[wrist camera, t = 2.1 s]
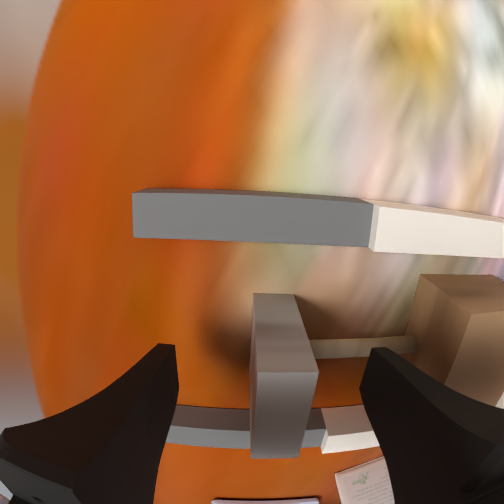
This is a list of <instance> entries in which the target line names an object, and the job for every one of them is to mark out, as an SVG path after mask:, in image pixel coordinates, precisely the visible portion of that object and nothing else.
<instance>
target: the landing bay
mask: <svg viewBox="0 0 504 504" xmlns="http://www.w3.org/2000/svg"><path fill="white" fill-rule="evenodd" d="M373 208H374V204H372V203H369V202H367V201H364V200H362V199H359V198H349V197H337V196H325V195H313V194H299V193H283V192H266V191H245V190H218V189H160V188H146V189H143V190H140V191H137V192H134V193H132V210H133V237H138V238H166V239H193V240H218V241H243V242H266V243H288V244H310V245H330V246H350V247H368V246H369V239H370V232H371V224H372V216H373ZM325 432H326V425H325V421H324V418H323V414H322V410H321V408H317V409H311V410H310V414H309V418H308V422H307V426H306V430H305V434H304V437H303V441H302V445H301V448H306V447H320V446H321V444H322V441H323V438H324V435H325ZM166 442H167V443H175V444H183V445H193V446H204V447H218V448H239V449H251V445H250V410H247V409H222V408H207V407H194V406H184V405H176V409H175V413H174V416H173V419H172V423H171V426H170V429H169V432H168V435H167V439H166Z"/></svg>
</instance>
